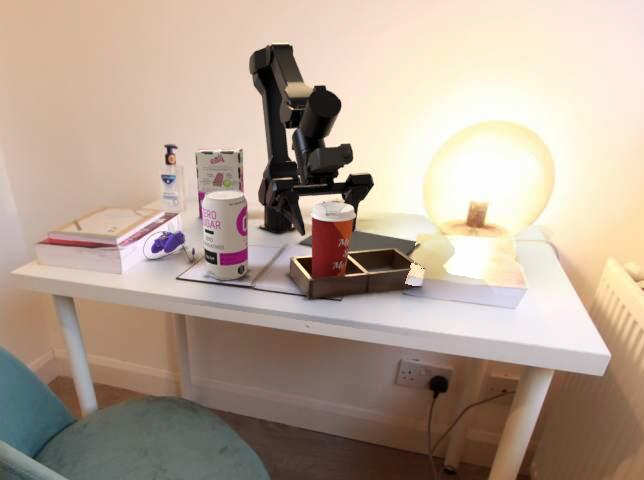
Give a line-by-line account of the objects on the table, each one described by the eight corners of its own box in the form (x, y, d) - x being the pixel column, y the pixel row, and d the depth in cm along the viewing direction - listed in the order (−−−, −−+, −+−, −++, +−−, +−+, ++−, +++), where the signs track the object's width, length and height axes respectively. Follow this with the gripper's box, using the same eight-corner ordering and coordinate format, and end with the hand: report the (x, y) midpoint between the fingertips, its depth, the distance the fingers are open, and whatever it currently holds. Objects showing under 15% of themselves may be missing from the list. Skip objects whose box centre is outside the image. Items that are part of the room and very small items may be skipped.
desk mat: (299, 244, 109) (299, 242, 109) (327, 227, 119) (327, 225, 119) (397, 263, 98) (397, 262, 98) (419, 243, 108) (419, 242, 108)
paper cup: (348, 293, 86) (356, 214, 79) (304, 290, 88) (308, 212, 81) (349, 276, 93) (356, 201, 86) (308, 273, 94) (312, 200, 87)
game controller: (132, 239, 102) (172, 220, 106) (148, 275, 105) (187, 255, 109) (149, 237, 93) (192, 217, 97) (167, 276, 96) (208, 255, 100)
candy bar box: (244, 214, 129) (243, 148, 121) (241, 219, 125) (240, 151, 117) (203, 213, 131) (199, 147, 123) (198, 218, 127) (194, 151, 118)
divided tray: (289, 274, 94) (290, 257, 92) (392, 264, 98) (395, 247, 96) (308, 299, 85) (309, 280, 83) (422, 286, 88) (425, 268, 87)
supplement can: (253, 267, 98) (253, 190, 90) (239, 283, 91) (238, 201, 83) (215, 263, 100) (211, 187, 92) (199, 278, 93) (194, 198, 86)
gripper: (271, 128, 81) (288, 213, 77) (376, 123, 84) (397, 204, 81) (259, 169, 92) (274, 245, 88) (353, 163, 95) (371, 236, 91)
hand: (328, 232), depth 87 cm, fingers open, 9 cm apart
